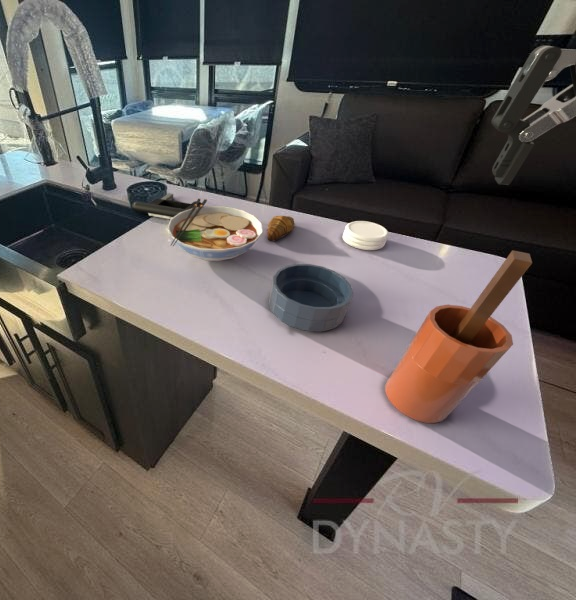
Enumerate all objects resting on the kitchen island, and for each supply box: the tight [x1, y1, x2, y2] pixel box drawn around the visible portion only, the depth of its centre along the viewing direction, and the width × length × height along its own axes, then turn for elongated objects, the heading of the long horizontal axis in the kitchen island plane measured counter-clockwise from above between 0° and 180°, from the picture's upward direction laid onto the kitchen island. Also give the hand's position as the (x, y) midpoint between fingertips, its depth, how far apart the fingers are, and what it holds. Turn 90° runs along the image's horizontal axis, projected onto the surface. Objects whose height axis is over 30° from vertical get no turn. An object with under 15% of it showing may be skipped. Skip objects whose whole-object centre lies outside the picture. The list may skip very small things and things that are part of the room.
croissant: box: [266, 215, 296, 242], centre depth 88 cm, size 14×7×5 cm, turn 142°
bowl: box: [268, 263, 354, 332], centre depth 64 cm, size 14×14×6 cm
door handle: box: [131, 192, 202, 220], centre depth 103 cm, size 3×20×16 cm
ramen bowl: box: [167, 198, 264, 262], centre depth 81 cm, size 25×23×8 cm
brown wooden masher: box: [446, 250, 533, 346], centre depth 38 cm, size 5×5×16 cm
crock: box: [384, 304, 514, 424], centre depth 45 cm, size 8×8×15 cm
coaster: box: [342, 220, 390, 251], centre depth 84 cm, size 10×10×4 cm
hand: (559, 188), depth 30 cm, fingers open, 8 cm apart
